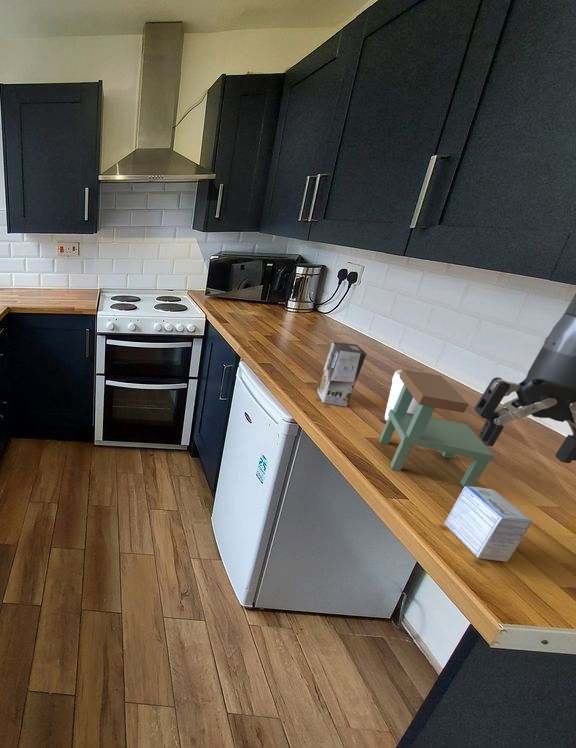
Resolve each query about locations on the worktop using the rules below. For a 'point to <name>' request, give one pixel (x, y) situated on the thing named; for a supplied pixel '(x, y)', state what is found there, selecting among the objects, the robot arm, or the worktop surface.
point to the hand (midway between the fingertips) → (523, 451)
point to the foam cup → (394, 395)
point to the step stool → (433, 424)
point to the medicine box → (487, 523)
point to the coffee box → (340, 373)
